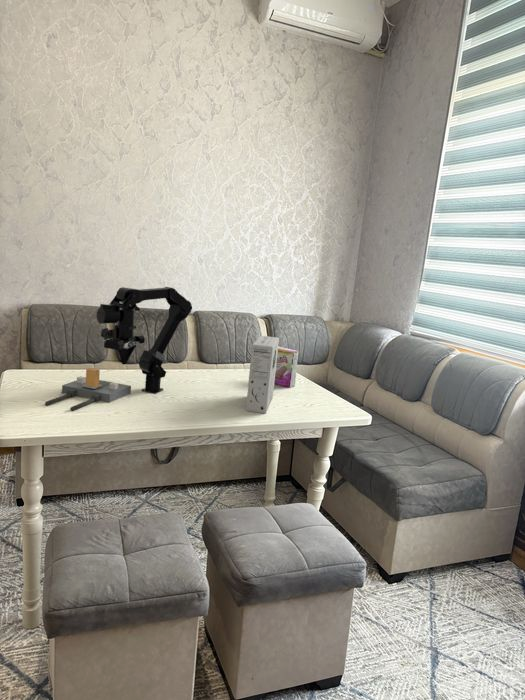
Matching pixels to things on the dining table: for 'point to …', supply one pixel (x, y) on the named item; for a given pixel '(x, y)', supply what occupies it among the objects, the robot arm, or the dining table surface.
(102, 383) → the panel
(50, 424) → the dining table surface
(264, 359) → the cereal box
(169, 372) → the dining table surface
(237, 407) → the dining table surface
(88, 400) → the twin dark prongs
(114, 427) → the dining table surface
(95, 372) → the breaker handle
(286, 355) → the candy bar box
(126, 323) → the robot arm
